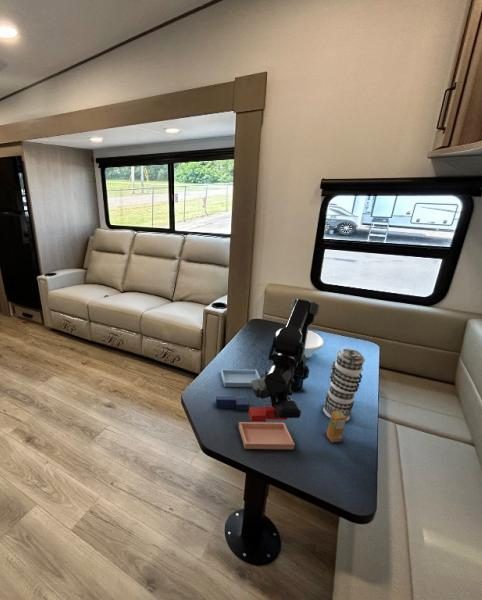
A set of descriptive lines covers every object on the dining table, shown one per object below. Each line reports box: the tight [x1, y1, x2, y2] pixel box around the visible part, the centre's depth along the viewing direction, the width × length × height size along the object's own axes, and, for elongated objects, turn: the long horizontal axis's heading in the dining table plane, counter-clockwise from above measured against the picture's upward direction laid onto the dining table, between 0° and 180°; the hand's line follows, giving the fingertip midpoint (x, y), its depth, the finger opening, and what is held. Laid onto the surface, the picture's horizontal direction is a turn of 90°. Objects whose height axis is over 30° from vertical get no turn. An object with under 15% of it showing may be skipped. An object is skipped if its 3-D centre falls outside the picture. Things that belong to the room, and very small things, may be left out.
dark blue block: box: [215, 395, 249, 411], centre depth 116 cm, size 11×4×4 cm, turn 89°
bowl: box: [275, 328, 325, 359], centre depth 151 cm, size 21×21×8 cm
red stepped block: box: [248, 406, 288, 423], centre depth 99 cm, size 11×4×4 cm, turn 89°
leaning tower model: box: [322, 348, 366, 422], centre depth 108 cm, size 9×9×25 cm
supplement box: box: [326, 411, 347, 443], centre depth 100 cm, size 3×3×10 cm
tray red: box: [238, 421, 295, 450], centre depth 102 cm, size 15×9×2 cm, turn 89°
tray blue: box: [220, 368, 261, 388], centre depth 131 cm, size 15×9×2 cm, turn 89°
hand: (275, 415), depth 99 cm, fingers closed on red stepped block, 2 cm apart
